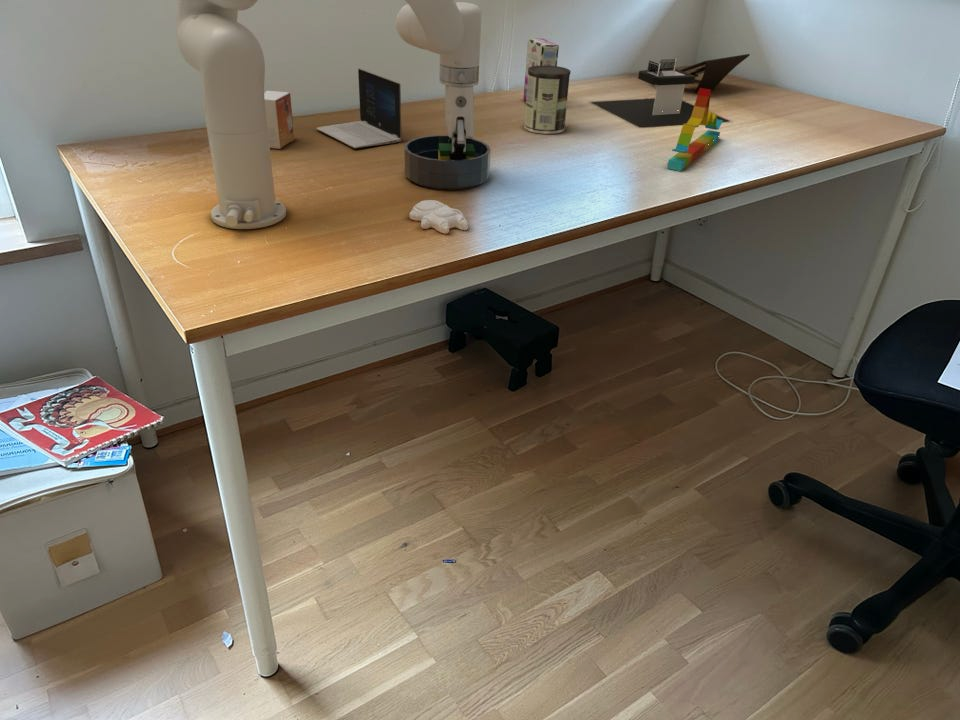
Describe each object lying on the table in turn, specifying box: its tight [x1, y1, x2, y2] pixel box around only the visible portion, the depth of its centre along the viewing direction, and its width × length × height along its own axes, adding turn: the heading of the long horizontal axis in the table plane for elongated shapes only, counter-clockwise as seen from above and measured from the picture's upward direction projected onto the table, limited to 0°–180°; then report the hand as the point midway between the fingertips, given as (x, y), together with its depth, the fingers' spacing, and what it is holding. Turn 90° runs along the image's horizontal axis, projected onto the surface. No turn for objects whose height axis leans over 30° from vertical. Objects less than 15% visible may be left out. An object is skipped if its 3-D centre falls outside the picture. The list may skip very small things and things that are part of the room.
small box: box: [264, 90, 295, 150], centre depth 161 cm, size 8×6×10 cm
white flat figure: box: [408, 199, 469, 235], centre depth 129 cm, size 9×12×3 cm
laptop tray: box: [679, 53, 750, 93], centre depth 228 cm, size 23×23×9 cm
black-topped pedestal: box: [592, 58, 730, 128], centre depth 200 cm, size 28×26×13 cm
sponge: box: [438, 143, 475, 160], centre depth 148 cm, size 5×7×4 cm
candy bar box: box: [522, 37, 560, 102], centre depth 200 cm, size 11×5×16 cm, turn 17°
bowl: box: [403, 134, 492, 191], centre depth 149 cm, size 17×17×6 cm
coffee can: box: [523, 65, 572, 135], centre depth 180 cm, size 10×10×14 cm
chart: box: [666, 88, 724, 172], centre depth 167 cm, size 30×3×15 cm, turn 149°
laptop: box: [315, 68, 402, 149], centre depth 168 cm, size 18×12×13 cm
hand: (456, 167), depth 149 cm, fingers closed on sponge, 4 cm apart
